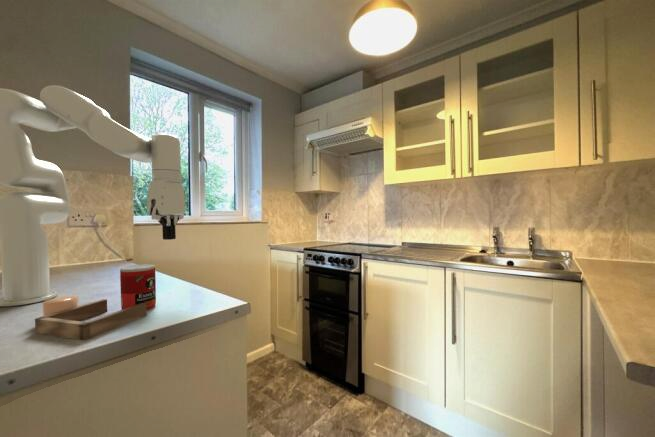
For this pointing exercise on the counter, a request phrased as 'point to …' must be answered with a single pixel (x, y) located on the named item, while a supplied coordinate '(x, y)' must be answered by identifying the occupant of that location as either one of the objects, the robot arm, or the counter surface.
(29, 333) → the counter surface
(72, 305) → the peach egg shape
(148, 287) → the canned food
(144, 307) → the wooden u-shaped frame
